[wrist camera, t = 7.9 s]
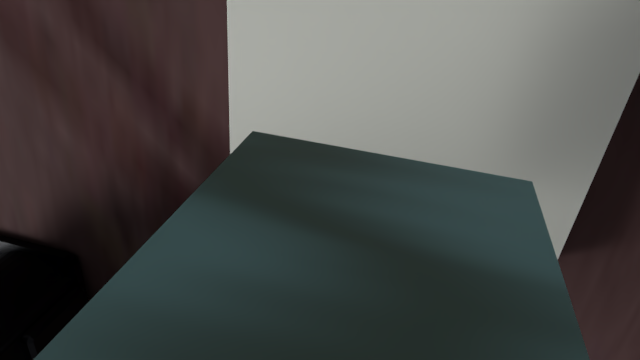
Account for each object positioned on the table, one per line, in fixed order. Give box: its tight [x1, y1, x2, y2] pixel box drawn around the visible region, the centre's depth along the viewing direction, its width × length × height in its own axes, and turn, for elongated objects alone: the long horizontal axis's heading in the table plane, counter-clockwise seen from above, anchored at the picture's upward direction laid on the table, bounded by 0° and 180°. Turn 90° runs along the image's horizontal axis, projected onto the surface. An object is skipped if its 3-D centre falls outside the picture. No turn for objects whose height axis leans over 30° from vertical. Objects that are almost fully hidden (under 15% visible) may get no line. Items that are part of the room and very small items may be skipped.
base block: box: [227, 0, 640, 260], centre depth 16 cm, size 12×12×3 cm
